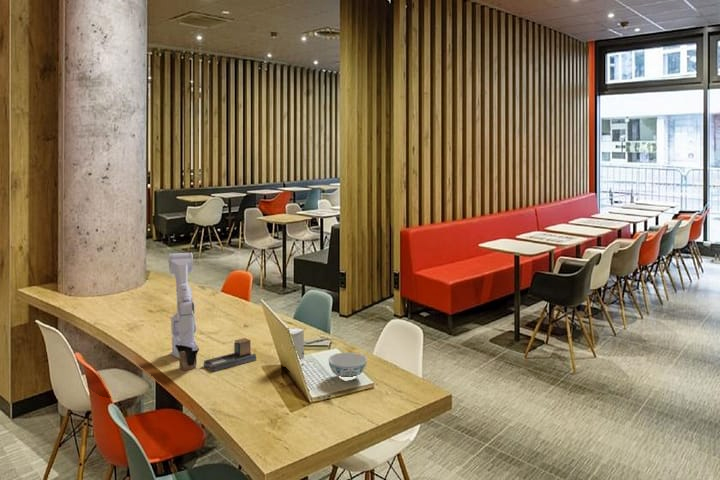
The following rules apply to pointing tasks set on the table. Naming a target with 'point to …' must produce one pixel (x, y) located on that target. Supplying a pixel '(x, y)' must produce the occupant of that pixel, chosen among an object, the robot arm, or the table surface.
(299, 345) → the skincare box
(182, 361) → the walnut finger
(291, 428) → the table surface
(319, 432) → the table surface
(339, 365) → the chinaware
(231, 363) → the rail
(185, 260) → the robot arm
